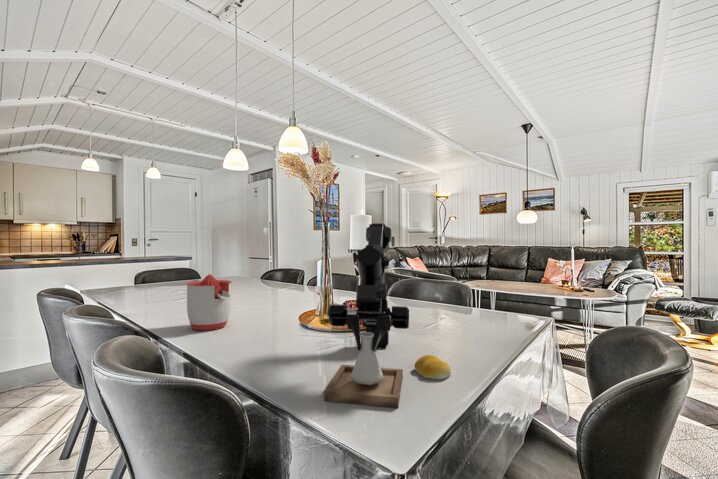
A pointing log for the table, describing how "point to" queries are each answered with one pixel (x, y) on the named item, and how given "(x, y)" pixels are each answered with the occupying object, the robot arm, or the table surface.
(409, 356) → the table surface
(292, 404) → the table surface
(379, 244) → the robot arm
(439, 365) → the bread roll
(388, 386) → the walnut tray
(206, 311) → the citrus juicer
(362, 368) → the flask
